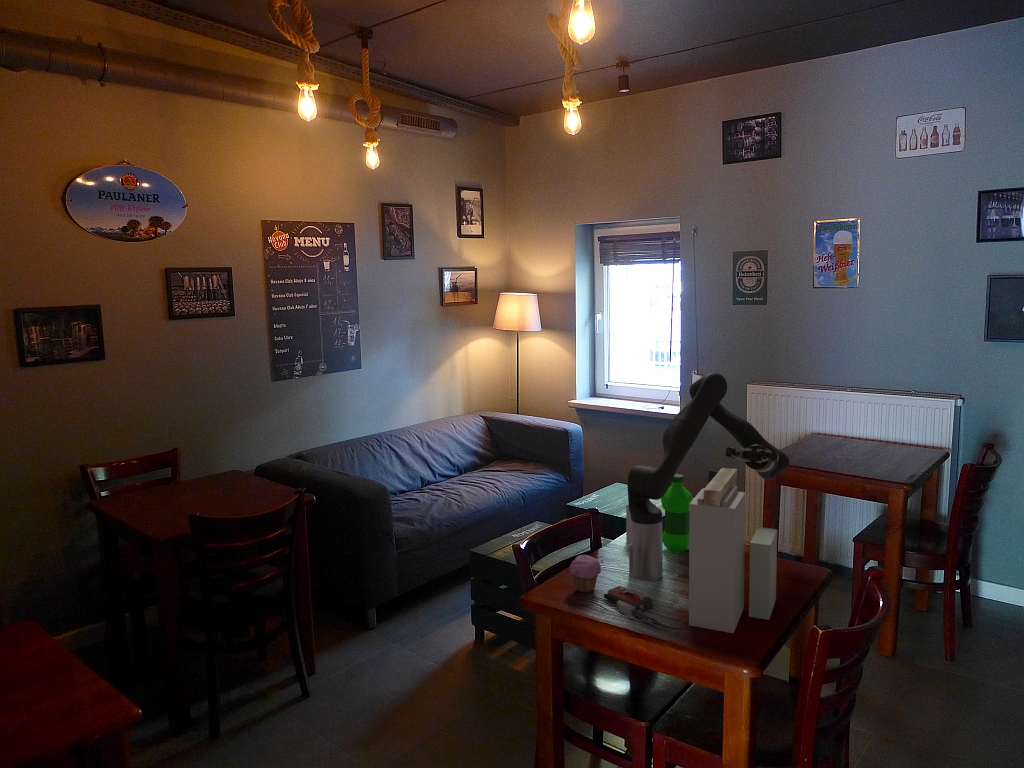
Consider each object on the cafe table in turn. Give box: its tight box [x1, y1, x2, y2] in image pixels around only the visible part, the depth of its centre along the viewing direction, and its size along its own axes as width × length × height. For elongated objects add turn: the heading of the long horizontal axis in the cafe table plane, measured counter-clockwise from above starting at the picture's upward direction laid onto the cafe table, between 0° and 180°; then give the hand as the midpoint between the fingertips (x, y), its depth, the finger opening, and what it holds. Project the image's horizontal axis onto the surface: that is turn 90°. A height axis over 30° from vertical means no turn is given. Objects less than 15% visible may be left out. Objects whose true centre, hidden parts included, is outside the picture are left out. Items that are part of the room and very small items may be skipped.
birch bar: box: [704, 467, 738, 507], centre depth 186 cm, size 4×23×4 cm, turn 153°
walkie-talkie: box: [603, 585, 658, 623], centre depth 193 cm, size 9×4×20 cm
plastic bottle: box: [660, 473, 694, 554], centre depth 234 cm, size 10×10×25 cm
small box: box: [625, 503, 657, 544], centre depth 243 cm, size 8×6×13 cm
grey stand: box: [688, 485, 746, 634], centre depth 185 cm, size 11×15×34 cm
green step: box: [748, 526, 778, 621], centre depth 190 cm, size 5×13×20 cm, turn 153°
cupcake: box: [569, 554, 602, 593], centre depth 206 cm, size 9×9×10 cm
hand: (746, 451), depth 205 cm, fingers open, 8 cm apart
